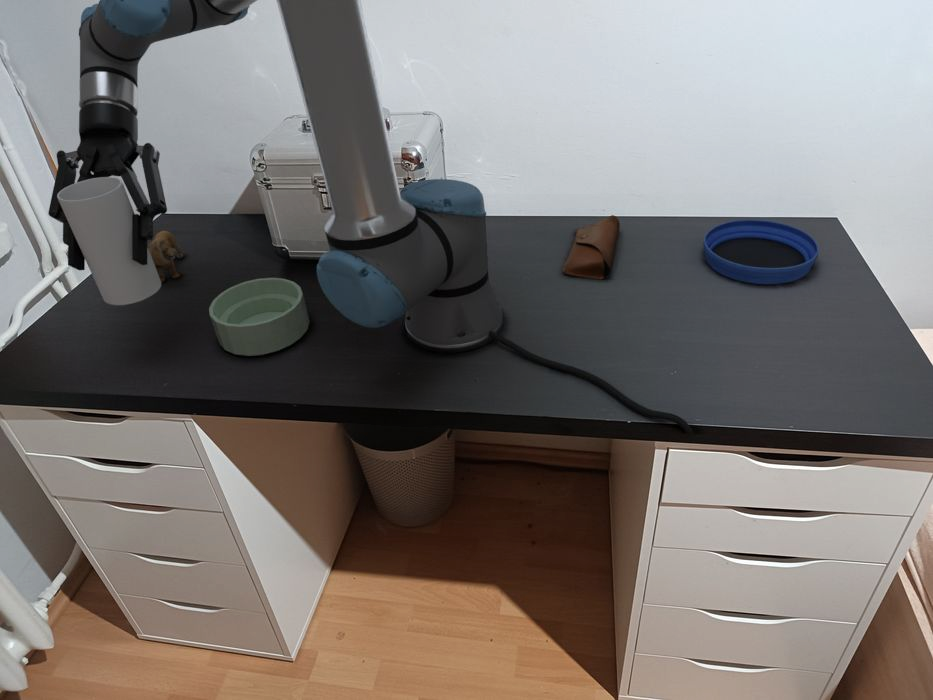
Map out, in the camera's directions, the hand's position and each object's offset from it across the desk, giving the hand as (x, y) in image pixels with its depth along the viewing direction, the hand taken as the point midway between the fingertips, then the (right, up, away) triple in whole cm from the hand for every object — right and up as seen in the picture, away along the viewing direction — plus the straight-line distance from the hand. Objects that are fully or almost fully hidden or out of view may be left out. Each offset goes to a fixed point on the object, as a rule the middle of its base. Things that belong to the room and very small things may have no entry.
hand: (108, 264), depth 95 cm
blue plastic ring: (+100, +3, +23) cm, 102 cm away
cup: (0, -3, +6) cm, 7 cm away
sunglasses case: (+73, +5, +29) cm, 78 cm away
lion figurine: (-6, +3, +34) cm, 35 cm away
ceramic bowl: (+18, -9, +15) cm, 25 cm away
